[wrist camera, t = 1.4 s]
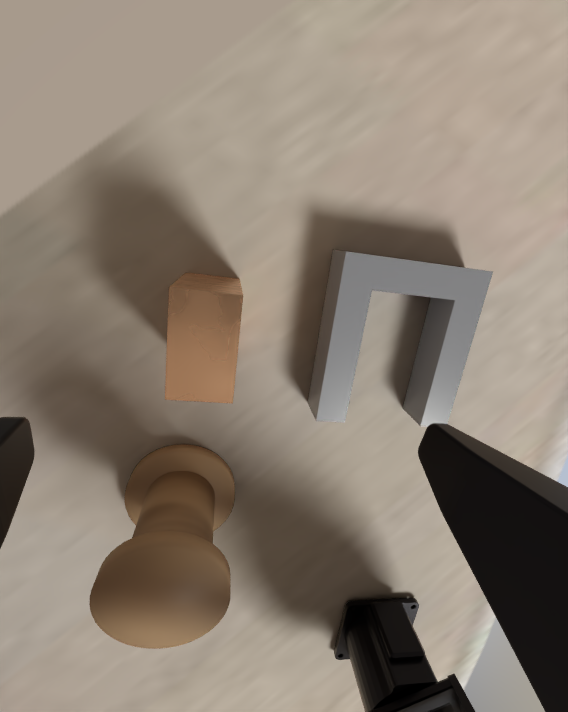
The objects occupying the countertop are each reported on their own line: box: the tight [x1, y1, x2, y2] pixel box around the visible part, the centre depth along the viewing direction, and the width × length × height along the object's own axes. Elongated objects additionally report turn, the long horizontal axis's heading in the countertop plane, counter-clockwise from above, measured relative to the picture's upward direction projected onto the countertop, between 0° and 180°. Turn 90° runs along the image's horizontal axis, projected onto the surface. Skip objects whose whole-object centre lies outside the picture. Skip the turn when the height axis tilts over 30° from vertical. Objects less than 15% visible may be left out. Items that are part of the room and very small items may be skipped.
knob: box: [90, 444, 235, 648], centre depth 21 cm, size 7×7×8 cm
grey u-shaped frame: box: [308, 250, 493, 427], centre depth 22 cm, size 10×9×2 cm
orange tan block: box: [165, 273, 243, 403], centre depth 18 cm, size 5×3×6 cm, turn 172°
